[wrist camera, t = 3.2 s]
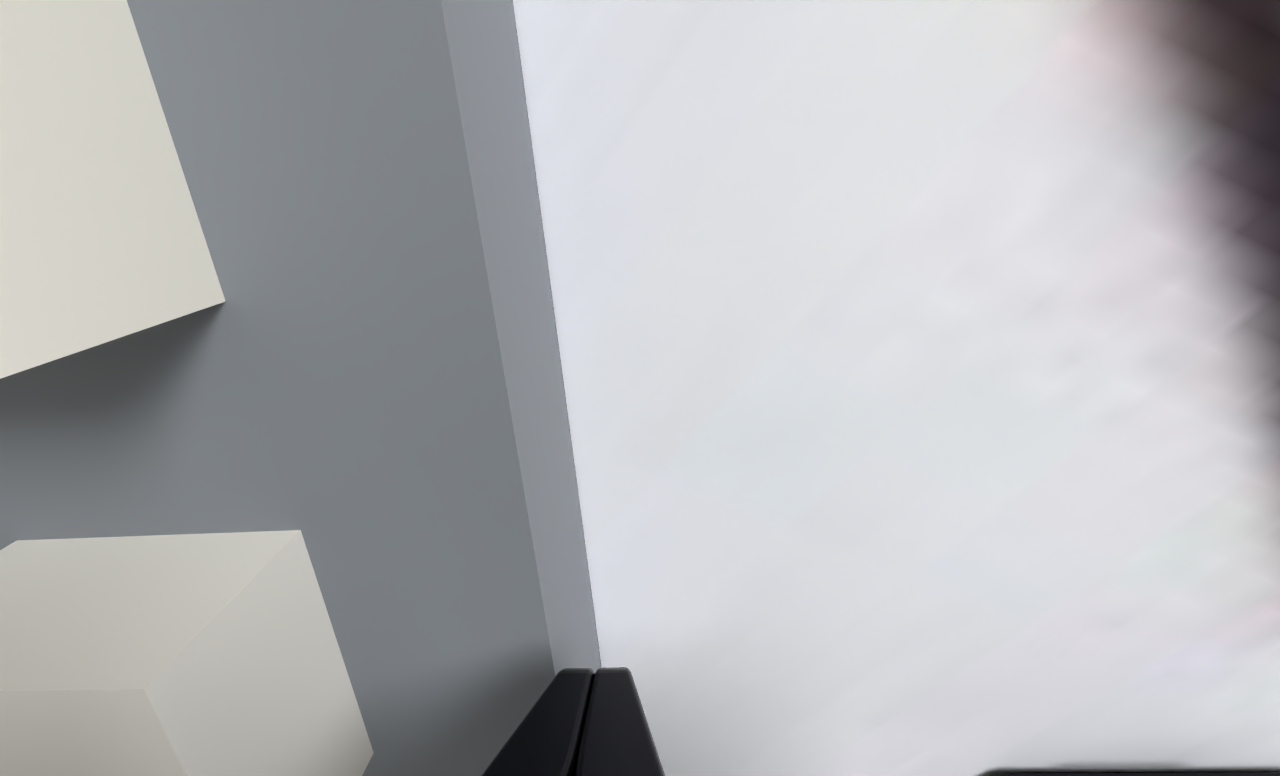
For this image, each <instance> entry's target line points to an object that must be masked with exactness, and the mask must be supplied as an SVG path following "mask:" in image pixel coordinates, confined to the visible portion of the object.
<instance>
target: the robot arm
mask: <svg viewBox="0 0 1280 776" xmlns="http://www.w3.org/2000/svg"><path fill="white" fill-rule="evenodd" d="M481 776H665V775H664V772H663V769H662V766H661V762H660V759H659V756H658V753H657V750H656V747H655V744H654V741H653V738H652V735H651V732H650V729H649V726H648V723H647V720H646V717H645V714H644V711H643V708H642V705H641V702H640V699H639V696H638V693H637V689H636V686H635V683H634V680H633V677H632V674H631V672H630V670H629V669H628V668H624V667H619V668H599V669H598V670H597V671H596V673H595V671H594V670H593V669H591V668H564V669H562V670H560V671H559V672H558V673H557V675H556V676H555V677H554V679H553V680H552V681H551V683H550V684H549V685H548V687H547V688H546V689H545V691H544V692H543V693H542V695H541V696H540V697H539V699H538V700H537V701H536V703H535V704H534V705H533V707H532V708H531V709H530V711H529V712H528V713H527V715H526V716H525V717H524V719H523V720H522V722H521V723H520V724H519V726H518V727H517V728H516V730H515V731H514V732H513V734H512V735H511V736H510V738H509V739H508V740H507V742H506V743H505V744H504V746H503V747H502V748H501V750H500V751H499V752H498V754H497V755H496V756H495V758H494V759H493V760H492V762H491V763H490V764H489V766H488V767H487V768H486V770H485V771H484V773H483V774H482V775H481ZM1002 776H1280V773H1013V774H1006V775H1002Z"/></svg>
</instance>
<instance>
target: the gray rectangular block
mask: <svg viewBox="0 0 1280 776" xmlns="http://www.w3.org/2000/svg"><path fill="white" fill-rule="evenodd" d="M127 3H128V6H129V9H130V12H131V15H132V18H133V21H134V24H135V27H136V30H137V33H138V36H139V39H140V42H141V45H142V48H143V51H144V54H145V58H146V61H147V64H148V67H149V70H150V73H151V76H152V79H153V82H154V85H155V88H156V91H157V94H158V97H159V100H160V103H161V106H162V109H163V112H164V115H165V118H166V122H167V125H168V128H169V131H170V134H171V137H172V140H173V143H174V146H175V149H176V152H177V155H178V158H179V161H180V164H181V167H182V170H183V173H184V176H185V179H186V182H187V186H188V189H189V192H190V195H191V198H192V201H193V204H194V207H195V210H196V213H197V216H198V219H199V222H200V225H201V228H202V231H203V234H204V237H205V240H206V243H207V246H208V249H209V253H210V256H211V259H212V262H213V265H214V268H215V271H216V274H217V277H218V280H219V283H220V286H221V289H222V292H223V295H224V298H225V302H223V303H220V304H217V305H214V306H211V307H208V308H205V309H202V310H199V311H196V312H193V313H190V314H188V315H185V316H182V317H179V318H176V319H173V320H170V321H167V322H164V323H161V324H158V325H155V326H153V327H150V328H147V329H144V330H141V331H138V332H135V333H132V334H129V335H126V336H123V337H120V338H118V339H115V340H112V341H109V342H106V343H103V344H100V345H97V346H94V347H91V348H88V349H85V350H83V351H80V352H77V353H74V354H71V355H68V356H65V357H62V358H59V359H56V360H53V361H50V362H47V363H45V364H42V365H39V366H36V367H33V368H30V369H27V370H24V371H21V372H18V373H15V374H12V375H10V376H7V377H4V378H1V379H0V550H2V549H3V548H5V547H7V546H8V545H10V544H12V543H13V542H15V541H17V540H42V539H69V538H97V537H124V536H151V535H178V534H205V533H233V532H260V531H287V530H301V533H302V536H303V539H304V542H305V545H306V548H307V551H308V554H309V557H310V560H311V563H312V566H313V569H314V572H315V575H316V579H317V582H318V585H319V588H320V591H321V594H322V597H323V600H324V603H325V606H326V609H327V612H328V615H329V618H330V621H331V624H332V627H333V630H334V633H335V636H336V639H337V642H338V646H339V649H340V652H341V655H342V658H343V661H344V664H345V667H346V670H347V673H348V676H349V679H350V682H351V685H352V688H353V691H354V694H355V697H356V700H357V703H358V706H359V710H360V713H361V716H362V719H363V722H364V725H365V728H366V731H367V734H368V737H369V740H370V743H371V746H372V749H373V752H374V753H373V755H372V757H371V759H370V761H369V763H368V765H367V767H366V769H365V771H364V773H363V775H362V776H481V775H482V774H483V773H484V771H485V770H486V768H487V767H488V766H489V764H490V763H491V762H492V760H493V759H494V758H495V756H496V755H497V754H498V752H499V751H500V750H501V748H502V747H503V746H504V744H505V743H506V742H507V740H508V739H509V738H510V736H511V735H512V734H513V732H514V731H515V730H516V728H517V727H518V726H519V724H520V723H521V722H522V720H523V719H524V717H525V716H526V715H527V713H528V712H529V711H530V709H531V708H532V707H533V705H534V704H535V703H536V701H537V700H538V699H539V697H540V696H541V695H542V693H543V692H544V691H545V689H546V688H547V687H548V685H549V684H550V683H551V681H552V680H553V679H554V677H555V676H556V675H557V673H558V672H559V671H560V670H562V669H564V668H591V669H593V670H594V671H595V673H596V671H597V670H598V669H599V668H601V660H600V653H599V645H598V638H597V630H596V623H595V615H594V608H593V600H592V593H591V585H590V578H589V570H588V563H587V555H586V548H585V540H584V533H583V525H582V518H581V510H580V503H579V495H578V488H577V480H576V473H575V465H574V458H573V450H572V443H571V435H570V428H569V420H568V413H567V405H566V398H565V390H564V383H563V375H562V368H561V360H560V353H559V345H558V338H557V330H556V323H555V315H554V308H553V300H552V293H551V285H550V278H549V270H548V263H547V255H546V248H545V240H544V233H543V225H542V218H541V210H540V203H539V195H538V188H537V180H536V173H535V165H534V158H533V150H532V143H531V135H530V128H529V120H528V113H527V105H526V98H525V90H524V83H523V75H522V68H521V60H520V53H519V45H518V38H517V30H516V23H515V15H514V8H513V0H127Z"/></svg>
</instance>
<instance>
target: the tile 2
mask: <svg viewBox="0 0 1280 776" xmlns="http://www.w3.org/2000/svg"><path fill="white" fill-rule="evenodd" d="M373 753H374V752H373V749H372V746H371V743H370V740H369V737H368V734H367V731H366V728H365V725H364V722H363V719H362V716H361V713H360V710H359V706H358V703H357V700H356V697H355V694H354V691H353V688H352V685H351V682H350V679H349V676H348V673H347V670H346V667H345V664H344V661H343V658H342V655H341V652H340V649H339V646H338V642H337V639H336V636H335V633H334V630H333V627H332V624H331V621H330V618H329V615H328V612H327V609H326V606H325V603H324V600H323V597H322V594H321V591H320V588H319V585H318V582H317V579H316V575H315V572H314V569H313V566H312V563H311V560H310V557H309V554H308V551H307V548H306V545H305V542H304V539H303V536H302V533H301V530H287V531H260V532H233V533H205V534H178V535H151V536H124V537H97V538H69V539H42V540H17V541H15V542H13V543H12V544H10V545H8V546H7V547H5V548H3V549H2V550H0V776H362V775H363V773H364V771H365V769H366V767H367V765H368V763H369V761H370V759H371V757H372V755H373Z"/></svg>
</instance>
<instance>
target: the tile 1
mask: <svg viewBox="0 0 1280 776" xmlns="http://www.w3.org/2000/svg"><path fill="white" fill-rule="evenodd" d="M223 302H225V298H224V295H223V292H222V289H221V286H220V283H219V280H218V277H217V274H216V271H215V268H214V265H213V262H212V259H211V256H210V253H209V249H208V246H207V243H206V240H205V237H204V234H203V231H202V228H201V225H200V222H199V219H198V216H197V213H196V210H195V207H194V204H193V201H192V198H191V195H190V192H189V189H188V186H187V182H186V179H185V176H184V173H183V170H182V167H181V164H180V161H179V158H178V155H177V152H176V149H175V146H174V143H173V140H172V137H171V134H170V131H169V128H168V125H167V122H166V118H165V115H164V112H163V109H162V106H161V103H160V100H159V97H158V94H157V91H156V88H155V85H154V82H153V79H152V76H151V73H150V70H149V67H148V64H147V61H146V58H145V54H144V51H143V48H142V45H141V42H140V39H139V36H138V33H137V30H136V27H135V24H134V21H133V18H132V15H131V12H130V9H129V6H128V3H127V0H0V379H1V378H4V377H7V376H10V375H12V374H15V373H18V372H21V371H24V370H27V369H30V368H33V367H36V366H39V365H42V364H45V363H47V362H50V361H53V360H56V359H59V358H62V357H65V356H68V355H71V354H74V353H77V352H80V351H83V350H85V349H88V348H91V347H94V346H97V345H100V344H103V343H106V342H109V341H112V340H115V339H118V338H120V337H123V336H126V335H129V334H132V333H135V332H138V331H141V330H144V329H147V328H150V327H153V326H155V325H158V324H161V323H164V322H167V321H170V320H173V319H176V318H179V317H182V316H185V315H188V314H190V313H193V312H196V311H199V310H202V309H205V308H208V307H211V306H214V305H217V304H220V303H223Z"/></svg>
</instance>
